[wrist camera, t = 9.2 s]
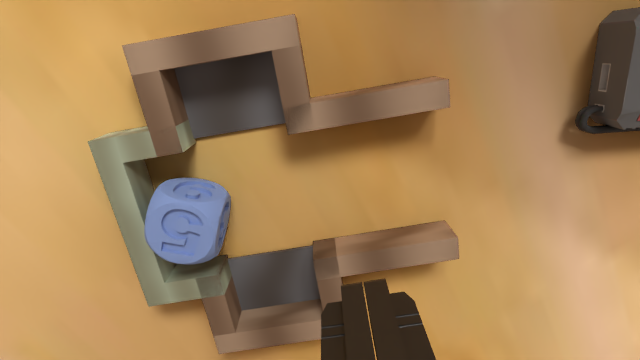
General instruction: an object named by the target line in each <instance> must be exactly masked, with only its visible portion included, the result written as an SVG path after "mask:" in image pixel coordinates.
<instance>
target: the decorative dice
mask: <svg viewBox="0 0 640 360" xmlns="http://www.w3.org/2000/svg"><path fill="white" fill-rule="evenodd" d="M230 207H231V197H230V195H229V193H228V192H227V191H226V190H225V188H224V187H222V186H221V185H219V184H217V183H215V182H212V181H208V180H204V179H198V178H175V179H170V180H167V181H165V182H163V183H161V184H160V185H159V186H158V187H157V189H156V190H155V192H154V194H153V196H152V198H151V200H150V203H149V206H148V210H147V214H146V219H145V227H144V234H145V240H146V242H147V244H148V245H149V247H150V248H151V249H152V250H153V251H154V252H155V253H156V254H157V255H158V256H159V257H161V258H162V259H164V260H166V261H169V262H172V263H177V264H186V265H188V264H199V263H203V262H206V261H209V260H211V259H213V258H214V257H216V256H217V255H218V254H219V252H220V250H221V247H222V244H223V241H224V238H225V234H226V230H227V226H228V221H229V215H230Z"/></svg>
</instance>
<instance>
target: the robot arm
mask: <svg viewBox="0 0 640 360" xmlns="http://www.w3.org/2000/svg"><path fill="white" fill-rule="evenodd" d="M364 287H365V293H366V299H367V305H368V311H369V317H370V323H371V329H372V335H373V340H374V346H375V351H376V357H377V360H436V358H435V356H434V353H433V350H432V348H431V345H430V342H429V339H428V337H427V334H426V331H425V329H424V326H423V324H422V320H421V318H420V315H419V312H418V310H417V307H416V304H415V301H414V300H413V299H412V298H411V297H409V296H408V295H407V294H406V293H405V292H398V293H392V294H389V290H388V287H387V283H386V280H385V279H379V280H372V281H365V282H364ZM341 297H342V301H339V302H332V303H327V305H326V306H325V308H324V310H323V312H322V314H321V360H375V354H374V348H373V343H372V337H371V331H370V326H369V320H368V314H367V309H366V303H365V297H364V292H363V286H362V282H359V283H353V284H346V285H341Z"/></svg>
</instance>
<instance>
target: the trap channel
mask: <svg viewBox="0 0 640 360" xmlns="http://www.w3.org/2000/svg"><path fill="white" fill-rule="evenodd" d="M122 47H123V50H124V53H125V57H126V60H127V63H128V66H129V69H130V72H131V76H132V79H133V82H134V85H135V88H136V92H137V95H138V98H139V101H140V104H141V107H142V111H143V114H144V117H145V120H146V123H147V126H146V127H140V128H134V129H128V130H123V131H117V132H111V133H108V134H106V135H103V136H101V137H98V138H96V139H93V140H90V141H88V144H89V146H90V149H91V152H92V155H93V157H94V160H95V163H96V165H97V168H98V171H99V173H100V176H101V179H102V182H103V184H104V187H105V190H106V192H107V195H108V198H109V201H110V203H111V206H112V209H113V211H114V214H115V217H116V219H117V222H118V225H119V228H120V230H121V233H122V236H123V238H124V241H125V244H126V247H127V249H128V252H129V255H130V257H131V260H132V263H133V265H134V268H135V271H136V274H137V276H138V279H139V282H140V284H141V287H142V290H143V293H144V295H145V298H146V301H147V303H148V306H156V305H162V304H169V303H175V302H182V301H188V300H195V299H201V298H202V301H203V304H204V308H205V311H206V314H207V317H208V320H209V324H210V327H211V330H212V333H213V336H214V339H215V343H216V346H217V349H218V352H219V354H223V353H230V352H236V351H243V350H250V349H257V348H264V347H270V346H277V345H284V344H291V343H297V342H304V341H311V340H318V339H321V314H322V312H323V310H324V308H325V306H326V305H327V303H332V302H339V301H342V297H341V285H343V282H342V277H344V276H351V275H357V274H364V273H370V272H377V271H383V270H390V269H396V268H403V267H409V266H416V265H422V264H429V263H435V262H442V261H448V260H455V259H459V245H458V237H457V235H456V234H455V233H454V232H453V230H452V229H451V228H450V226H449V225H448V224H447V223H446V221H445V220H444V221H438V222H432V223H425V224H419V225H413V226H406V227H400V228H394V229H387V230H381V231H375V232H368V233H362V234H356V235H349V236H343V237H337V238H330V239H324V240H318V241H313V245H311V246H305V247H299V248H292V249H286V250H280V251H273V252H267V253H261V254H254V255H248V256H241V257H235V258H229V259H228V256H227V255H223V256H216V257H214V258H213V259H211V260H209V261H206V262H203V263H199V264H188V265H186V264H177V263H172V262H169V261H166V260H164V259H162V258H161V257H159V256H158V255H157V254H156V253H155V252H154V251H153V250H152V249H151V248H150V247H149V245H148V244H147V242H146V240H145V234H144V227H145V219H146V214H147V210H148V206H149V203H150V200H151V198H152V196H153V194H154V192H155V191H154V188H153V185H152V182H151V179H150V176H149V173H148V170H147V167H146V163H145V160H144V159H148V158H154V157H160V156H166V155H172V154H178V153H183V152H184V151H186V150H187V149H188V148H190V147H191V146H192V145H194V144H195V143H196V141H195V138H201V137H206V136H212V135H218V134H224V133H230V132H236V131H242V130H247V129H253V128H259V127H265V126H271V125H277V124H283V123H286V127H287V132H288V135H290V134H296V133H302V132H308V131H313V130H319V129H325V128H331V127H337V126H343V125H349V124H355V123H361V122H366V121H372V120H378V119H384V118H390V117H396V116H402V115H408V114H414V113H420V112H425V111H431V110H437V109H443V108H449V107H450V94H449V79H445V78H440V77H429V78H423V79H417V80H411V81H406V82H400V83H394V84H388V85H383V86H377V87H371V88H365V89H359V90H354V91H348V92H342V93H336V94H331V95H325V96H319V97H313V98H310V92H309V86H308V81H307V75H306V69H305V63H304V58H303V52H302V46H301V40H300V35H299V29H298V23H297V18H296V16H295V14H292V15H287V16H281V17H276V18H270V19H265V20H259V21H254V22H248V23H243V24H237V25H232V26H226V27H221V28H215V29H210V30H204V31H199V32H194V33H188V34H183V35H177V36H172V37H166V38H161V39H155V40H150V41H144V42H139V43H133V44H128V45H122Z"/></svg>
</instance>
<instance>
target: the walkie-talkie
mask: <svg viewBox="0 0 640 360" xmlns="http://www.w3.org/2000/svg"><path fill="white" fill-rule="evenodd" d="M589 116H590V117H591V118H592V119H593V120H594V121H595V122H596V123H599V124H603V126H588V125H587V120H588V118H589ZM575 124H576V126H577V127H578V129H579V130H581V131H585V132H588V133H592V134H597V133H611V132H625V131H639V130H640V7H638V8H631V9H624V10H617V11H613V12H612V13H611V14H609V15H608V16H607V17H606V18H605V19H604V20H603V21H602V22H601V23H600V26H599V33H598V40H597V47H596V53H595V60H594V67H593V74H592V80H591V87H590V94H589V101H588V106H587V107H585V108H583V109H582V110H580V111H579V112H578V115H577V117H576V120H575Z"/></svg>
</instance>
